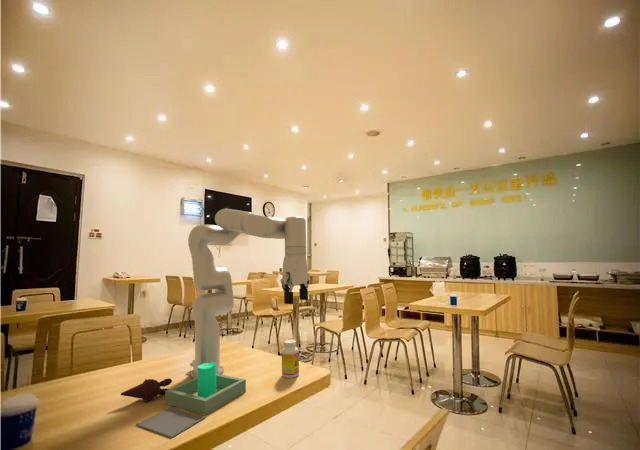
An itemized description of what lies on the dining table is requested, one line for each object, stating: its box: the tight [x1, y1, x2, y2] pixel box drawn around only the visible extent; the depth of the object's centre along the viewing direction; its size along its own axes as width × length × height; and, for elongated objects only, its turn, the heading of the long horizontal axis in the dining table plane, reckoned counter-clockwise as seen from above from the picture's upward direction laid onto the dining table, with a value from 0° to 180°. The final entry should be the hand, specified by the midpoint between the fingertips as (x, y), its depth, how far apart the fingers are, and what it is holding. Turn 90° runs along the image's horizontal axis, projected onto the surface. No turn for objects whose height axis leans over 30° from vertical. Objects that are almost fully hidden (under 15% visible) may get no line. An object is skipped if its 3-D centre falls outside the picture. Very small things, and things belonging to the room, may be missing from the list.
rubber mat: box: [135, 406, 206, 439], centre depth 93 cm, size 15×11×1 cm
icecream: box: [120, 378, 173, 403], centre depth 107 cm, size 7×7×15 cm
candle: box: [196, 362, 217, 398], centre depth 108 cm, size 6×6×12 cm
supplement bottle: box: [281, 339, 300, 379], centre depth 126 cm, size 7×7×13 cm
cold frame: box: [164, 374, 247, 416], centre depth 108 cm, size 18×18×4 cm
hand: (296, 301), depth 112 cm, fingers open, 9 cm apart
